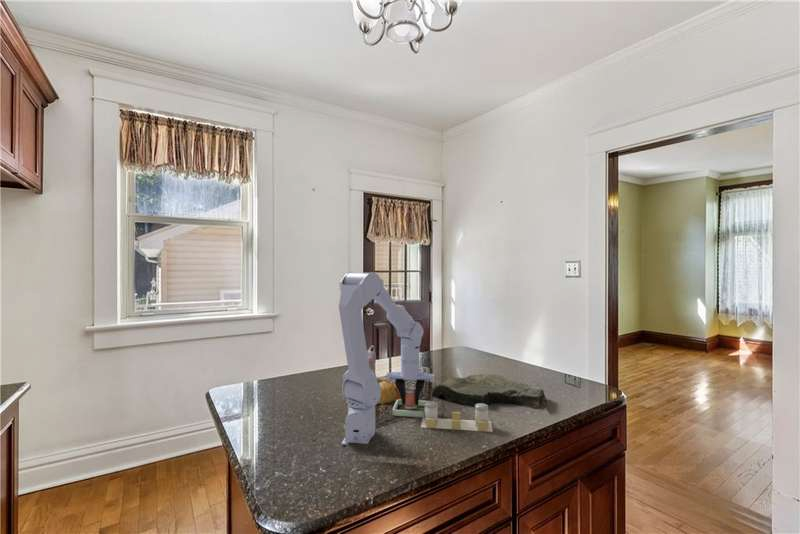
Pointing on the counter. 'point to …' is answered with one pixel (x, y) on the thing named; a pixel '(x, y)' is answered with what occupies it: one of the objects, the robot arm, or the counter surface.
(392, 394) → the croissant
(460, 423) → the fuse block
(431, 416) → the grey fuse
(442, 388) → the stone
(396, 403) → the tray
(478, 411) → the grey fuse
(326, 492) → the counter surface
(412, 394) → the red fuse
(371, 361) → the toy
